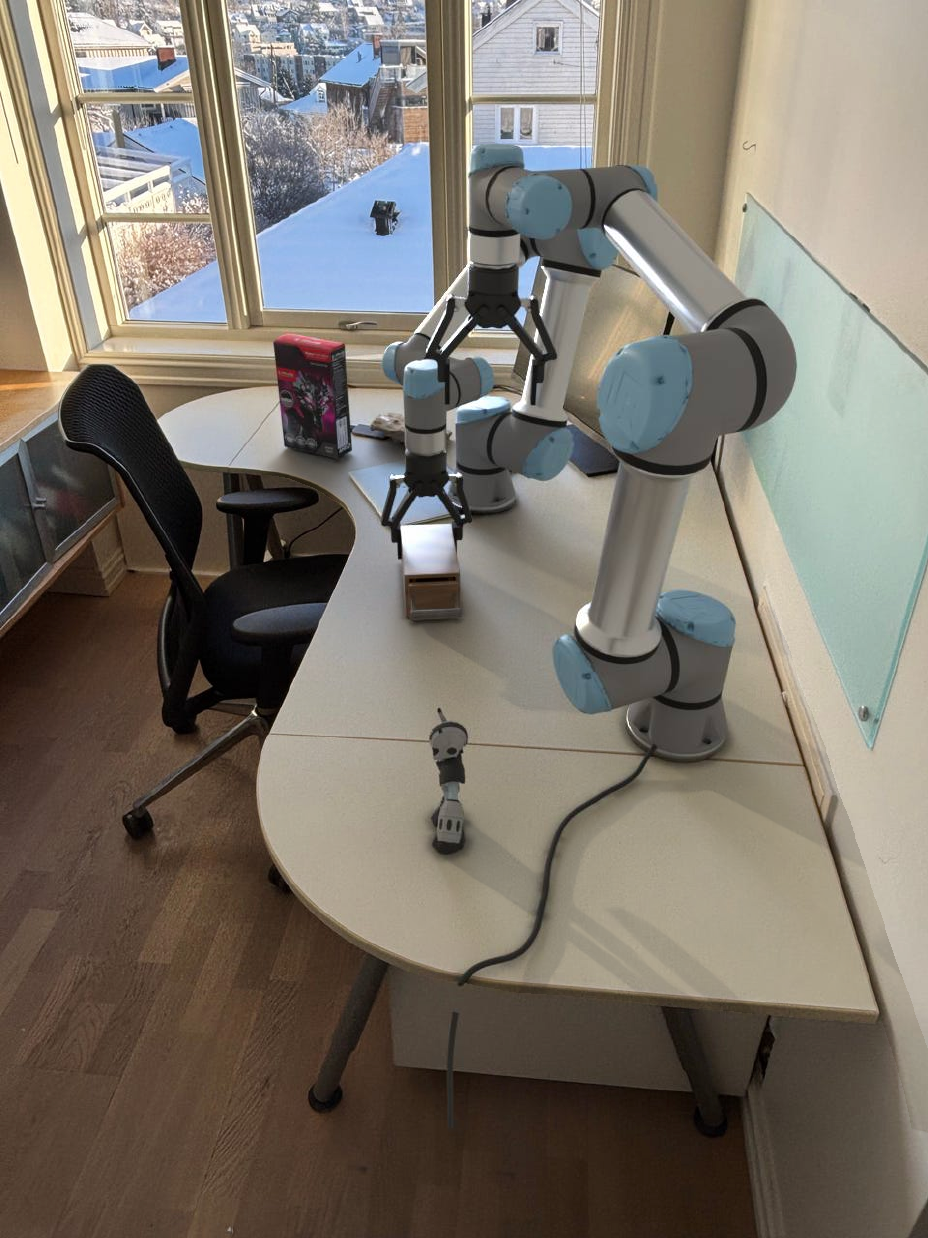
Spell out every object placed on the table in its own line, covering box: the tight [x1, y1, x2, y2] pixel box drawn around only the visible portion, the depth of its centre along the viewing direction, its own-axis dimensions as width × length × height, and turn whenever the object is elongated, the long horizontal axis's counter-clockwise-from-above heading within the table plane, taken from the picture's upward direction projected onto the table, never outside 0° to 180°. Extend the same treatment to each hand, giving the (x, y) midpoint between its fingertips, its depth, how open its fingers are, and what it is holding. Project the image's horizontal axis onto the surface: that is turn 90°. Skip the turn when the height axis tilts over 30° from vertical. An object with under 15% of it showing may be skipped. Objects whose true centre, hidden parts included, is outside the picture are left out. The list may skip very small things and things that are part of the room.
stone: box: [369, 412, 453, 444], centre depth 234 cm, size 21×15×6 cm
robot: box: [428, 707, 469, 855], centre depth 120 cm, size 20×5×20 cm, turn 3°
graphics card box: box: [272, 332, 353, 460], centre depth 223 cm, size 17×7×27 cm, turn 62°
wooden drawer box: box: [400, 523, 461, 618], centre depth 174 cm, size 19×10×9 cm, turn 6°
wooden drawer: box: [408, 577, 462, 621], centre depth 169 cm, size 24×9×7 cm, turn 6°
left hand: (427, 554), depth 180 cm, fingers closed on wooden drawer box, 10 cm apart
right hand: (490, 402), depth 147 cm, fingers open, 13 cm apart
